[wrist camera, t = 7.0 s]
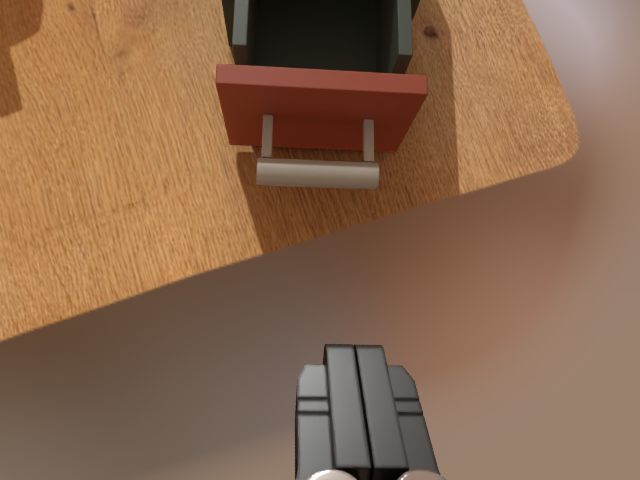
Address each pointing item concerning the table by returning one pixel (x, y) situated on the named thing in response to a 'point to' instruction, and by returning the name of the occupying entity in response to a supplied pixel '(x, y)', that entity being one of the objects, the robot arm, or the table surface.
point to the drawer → (320, 86)
